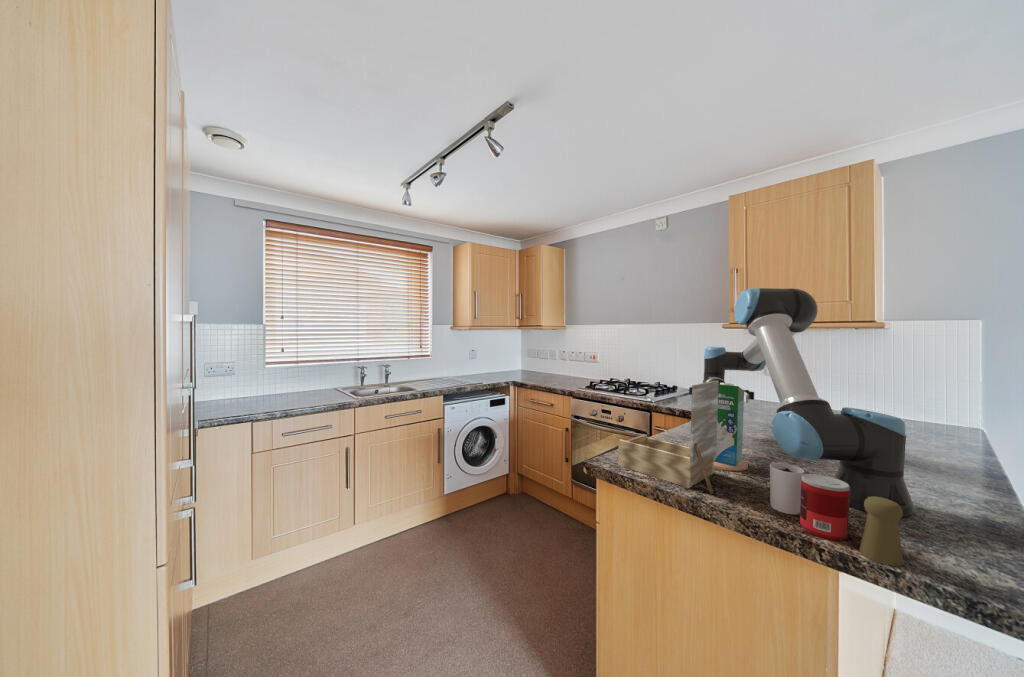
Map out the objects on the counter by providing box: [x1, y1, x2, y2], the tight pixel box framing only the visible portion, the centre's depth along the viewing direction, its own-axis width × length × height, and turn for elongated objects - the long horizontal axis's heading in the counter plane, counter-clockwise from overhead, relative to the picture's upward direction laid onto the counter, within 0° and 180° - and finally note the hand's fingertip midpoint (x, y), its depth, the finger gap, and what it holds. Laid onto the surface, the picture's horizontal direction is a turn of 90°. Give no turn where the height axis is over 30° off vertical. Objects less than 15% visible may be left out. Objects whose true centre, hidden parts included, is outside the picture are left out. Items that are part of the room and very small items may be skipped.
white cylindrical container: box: [769, 462, 805, 515], centre depth 89 cm, size 7×7×10 cm
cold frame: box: [617, 381, 719, 495], centre depth 111 cm, size 28×17×28 cm, turn 41°
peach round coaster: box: [714, 459, 749, 472], centre depth 120 cm, size 13×13×1 cm
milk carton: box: [714, 382, 745, 466], centre depth 120 cm, size 9×9×25 cm
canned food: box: [799, 473, 850, 541], centre depth 79 cm, size 8×8×11 cm
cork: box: [858, 496, 905, 567], centre depth 70 cm, size 6×6×11 cm
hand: (723, 396), depth 124 cm, fingers open, 13 cm apart
